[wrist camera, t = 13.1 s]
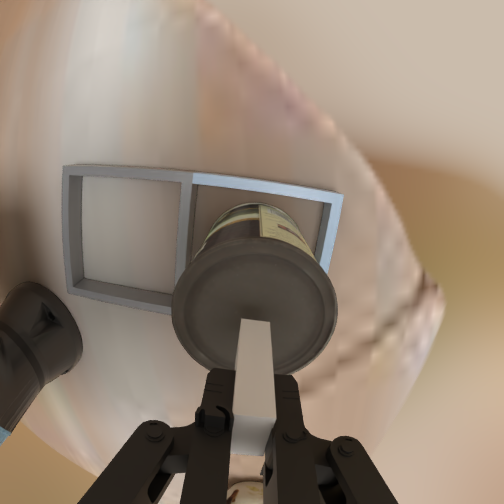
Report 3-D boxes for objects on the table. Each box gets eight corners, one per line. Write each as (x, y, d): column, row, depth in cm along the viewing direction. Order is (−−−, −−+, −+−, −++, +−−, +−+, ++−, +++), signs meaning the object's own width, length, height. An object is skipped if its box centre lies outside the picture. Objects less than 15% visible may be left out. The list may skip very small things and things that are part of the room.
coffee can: (202, 288, 32) (170, 371, 19) (211, 195, 29) (173, 226, 15) (294, 300, 32) (314, 388, 19) (312, 210, 29) (357, 252, 16)
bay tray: (78, 284, 32) (67, 293, 30) (76, 164, 28) (62, 165, 25) (307, 320, 33) (311, 333, 30) (336, 191, 28) (343, 194, 26)
